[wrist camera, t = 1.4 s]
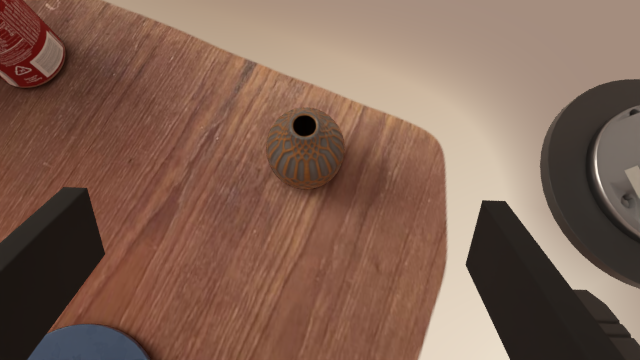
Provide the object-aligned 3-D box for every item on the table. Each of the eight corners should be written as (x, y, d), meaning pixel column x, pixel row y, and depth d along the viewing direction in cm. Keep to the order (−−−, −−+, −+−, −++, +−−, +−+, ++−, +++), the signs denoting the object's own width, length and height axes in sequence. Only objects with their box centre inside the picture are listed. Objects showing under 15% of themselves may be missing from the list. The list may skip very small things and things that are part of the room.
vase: (337, 126, 41) (343, 81, 32) (345, 193, 39) (355, 163, 30) (268, 132, 40) (256, 88, 32) (273, 200, 38) (262, 172, 30)
